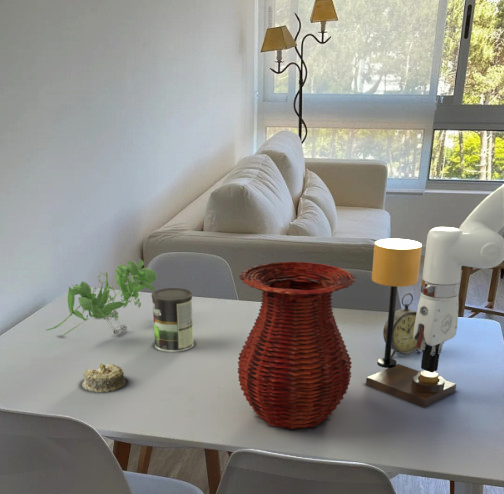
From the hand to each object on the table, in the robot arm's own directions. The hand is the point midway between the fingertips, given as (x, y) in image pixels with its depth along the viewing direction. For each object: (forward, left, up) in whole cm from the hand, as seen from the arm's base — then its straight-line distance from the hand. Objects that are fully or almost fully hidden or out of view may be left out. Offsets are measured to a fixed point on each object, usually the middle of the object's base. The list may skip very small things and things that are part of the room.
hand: (428, 369), depth 155 cm
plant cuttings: (+83, +31, -7) cm, 89 cm away
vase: (+13, +29, -7) cm, 32 cm away
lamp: (+11, 0, -2) cm, 12 cm away
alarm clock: (+18, -16, -7) cm, 25 cm away
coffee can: (+62, +23, -7) cm, 67 cm away
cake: (+53, +50, -7) cm, 73 cm away
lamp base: (+4, 0, -6) cm, 8 cm away
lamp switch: (0, 0, -3) cm, 3 cm away
